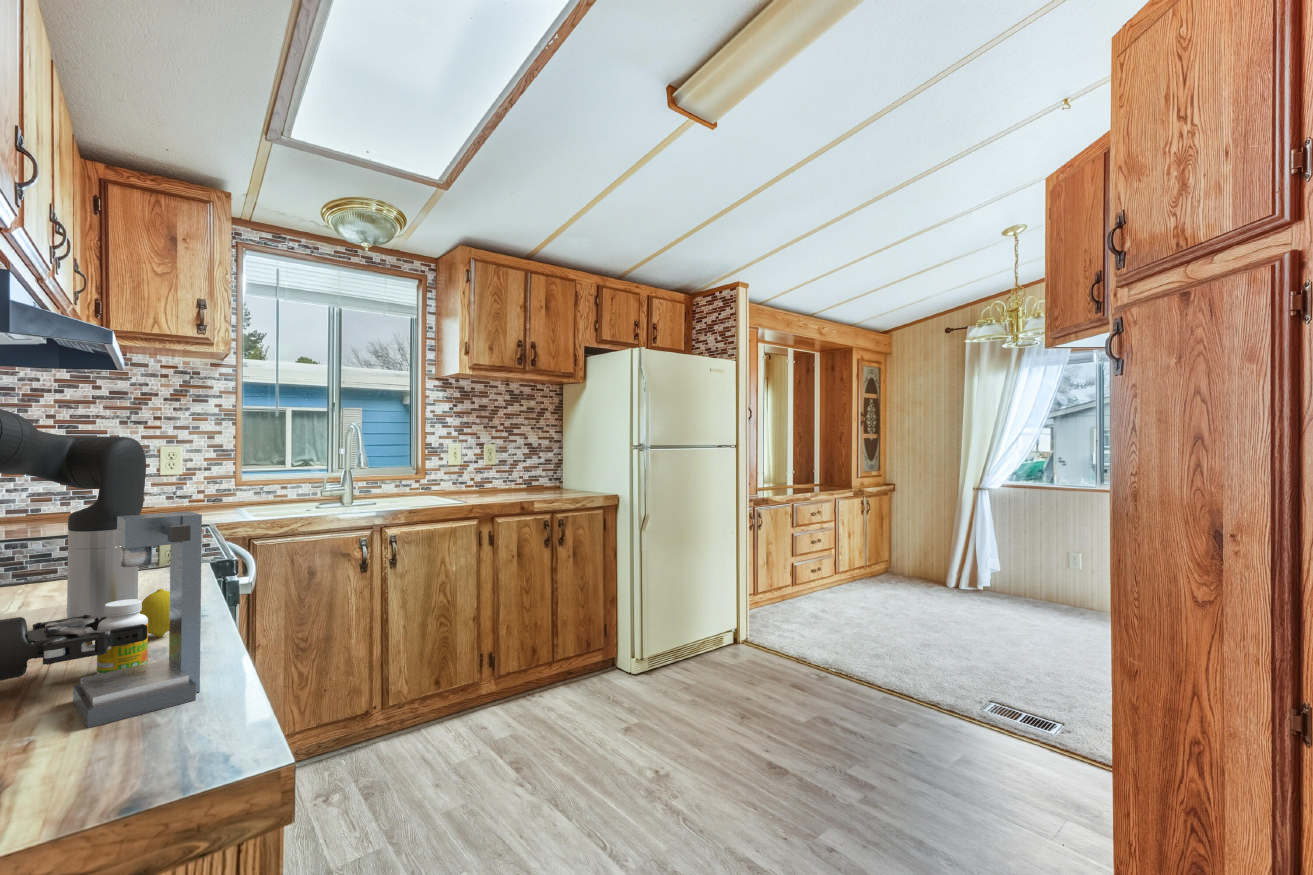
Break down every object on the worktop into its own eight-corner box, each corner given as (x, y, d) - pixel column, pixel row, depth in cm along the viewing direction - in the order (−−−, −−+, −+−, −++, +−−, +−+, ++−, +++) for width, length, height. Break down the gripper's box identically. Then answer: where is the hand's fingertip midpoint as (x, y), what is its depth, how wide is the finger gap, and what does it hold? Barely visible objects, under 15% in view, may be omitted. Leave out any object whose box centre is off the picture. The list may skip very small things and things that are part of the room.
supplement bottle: (117, 680, 83) (118, 608, 83) (86, 677, 84) (87, 606, 84) (157, 666, 88) (158, 598, 88) (127, 663, 89) (128, 596, 90)
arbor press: (73, 701, 76) (75, 516, 76) (182, 675, 85) (184, 509, 85) (93, 738, 67) (96, 527, 67) (214, 705, 75) (216, 518, 75)
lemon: (154, 632, 104) (154, 585, 104) (188, 631, 104) (189, 584, 104) (128, 643, 98) (129, 593, 98) (165, 642, 99) (166, 592, 99)
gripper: (-27, 636, 71) (152, 608, 83) (-32, 614, 80) (130, 591, 92) (-28, 701, 71) (151, 663, 83) (-33, 671, 80) (129, 641, 92)
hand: (140, 625), depth 88 cm, fingers open, 8 cm apart
